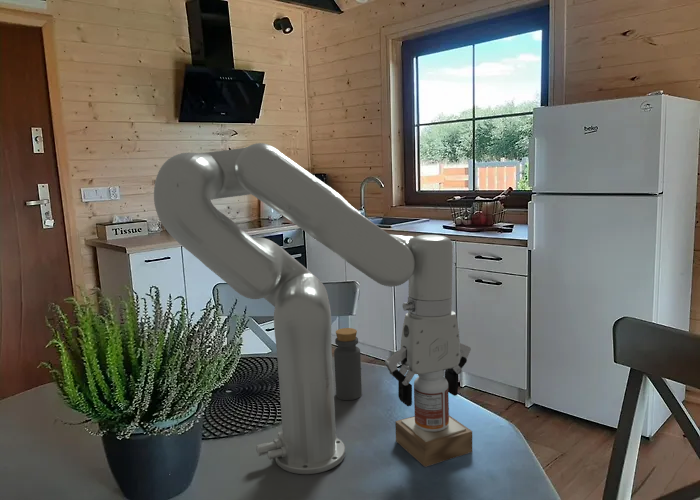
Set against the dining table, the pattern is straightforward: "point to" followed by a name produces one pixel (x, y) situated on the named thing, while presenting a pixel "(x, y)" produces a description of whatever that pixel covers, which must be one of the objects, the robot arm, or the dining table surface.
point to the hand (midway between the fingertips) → (428, 397)
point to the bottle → (347, 365)
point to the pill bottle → (431, 401)
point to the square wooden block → (433, 441)
